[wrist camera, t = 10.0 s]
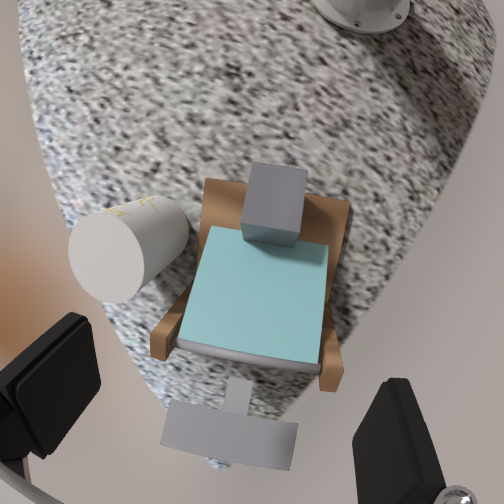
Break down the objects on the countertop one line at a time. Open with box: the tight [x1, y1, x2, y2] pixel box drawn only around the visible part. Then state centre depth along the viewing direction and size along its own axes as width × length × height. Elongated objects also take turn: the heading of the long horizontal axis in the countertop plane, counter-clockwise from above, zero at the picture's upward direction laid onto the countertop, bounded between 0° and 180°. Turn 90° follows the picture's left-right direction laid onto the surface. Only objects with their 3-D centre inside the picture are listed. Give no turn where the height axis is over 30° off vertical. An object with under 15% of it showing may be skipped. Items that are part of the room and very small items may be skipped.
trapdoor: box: [160, 226, 328, 471], centre depth 27 cm, size 21×13×4 cm
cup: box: [68, 196, 189, 303], centre depth 30 cm, size 8×8×12 cm
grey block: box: [240, 162, 308, 249], centre depth 29 cm, size 5×5×6 cm
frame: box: [150, 178, 350, 392], centre depth 29 cm, size 16×16×14 cm
